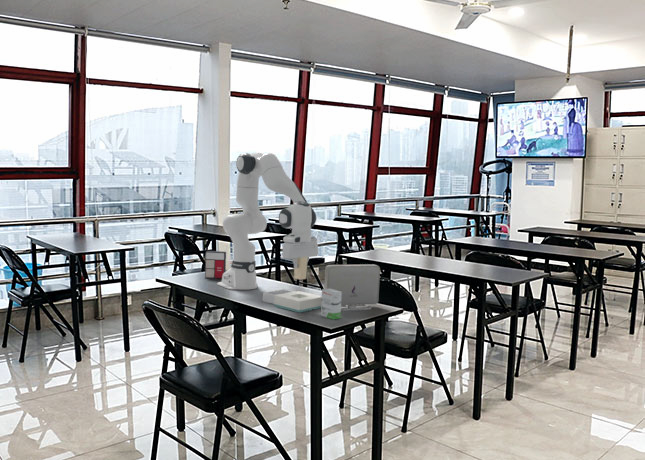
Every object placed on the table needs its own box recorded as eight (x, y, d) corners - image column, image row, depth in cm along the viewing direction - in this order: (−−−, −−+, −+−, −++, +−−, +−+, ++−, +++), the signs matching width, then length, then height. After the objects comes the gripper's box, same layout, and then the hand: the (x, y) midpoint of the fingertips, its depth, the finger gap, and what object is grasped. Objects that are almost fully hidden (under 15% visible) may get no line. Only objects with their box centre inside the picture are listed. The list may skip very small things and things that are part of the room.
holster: (262, 301, 282) (262, 292, 282) (283, 297, 292) (283, 289, 292) (274, 304, 277) (274, 295, 276) (295, 299, 287) (295, 291, 287)
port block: (274, 306, 272) (274, 295, 272) (298, 301, 284) (298, 291, 284) (299, 312, 262) (299, 301, 261) (323, 307, 274) (323, 296, 273)
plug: (294, 278, 272) (294, 256, 271) (300, 277, 274) (300, 255, 274) (300, 279, 269) (301, 257, 268) (306, 278, 272) (307, 256, 271)
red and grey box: (204, 278, 334) (205, 251, 332) (206, 276, 338) (206, 250, 336) (224, 279, 333) (224, 252, 332) (225, 277, 338) (226, 251, 336)
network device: (327, 311, 267) (329, 267, 265) (321, 306, 275) (323, 264, 273) (380, 309, 275) (382, 266, 273) (372, 304, 283) (374, 263, 281)
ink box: (341, 318, 254) (342, 291, 253) (332, 319, 252) (333, 292, 250) (329, 314, 261) (330, 287, 260) (320, 315, 258) (321, 288, 257)
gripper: (311, 235, 280) (310, 264, 281) (280, 238, 265) (279, 268, 266) (321, 236, 276) (320, 266, 277) (290, 239, 260) (289, 270, 262)
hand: (300, 267), depth 271 cm, fingers closed on plug, 4 cm apart
